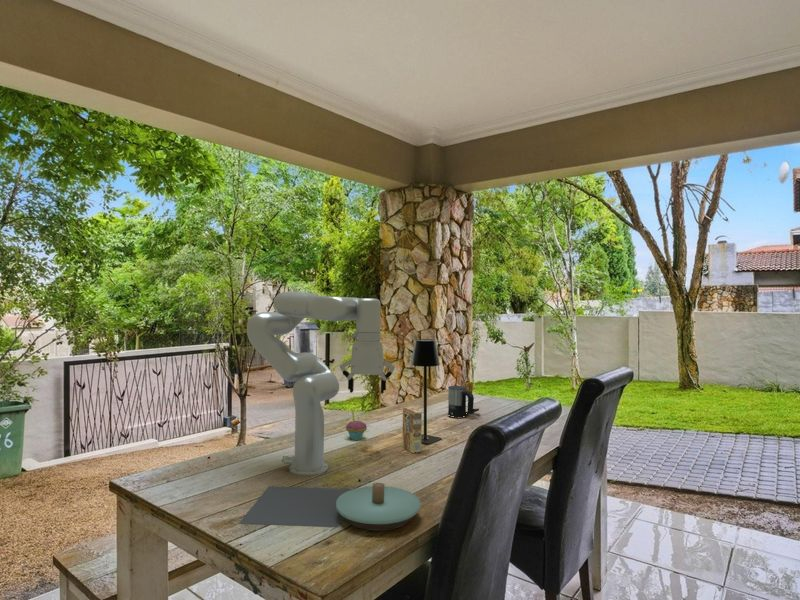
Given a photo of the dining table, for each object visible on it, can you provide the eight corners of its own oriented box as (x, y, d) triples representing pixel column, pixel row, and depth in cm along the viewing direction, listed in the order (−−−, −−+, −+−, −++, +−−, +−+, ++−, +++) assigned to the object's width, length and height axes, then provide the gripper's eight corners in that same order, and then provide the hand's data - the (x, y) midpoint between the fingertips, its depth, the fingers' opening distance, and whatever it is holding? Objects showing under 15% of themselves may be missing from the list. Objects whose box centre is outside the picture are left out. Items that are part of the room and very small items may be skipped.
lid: (329, 522, 119) (329, 500, 120) (342, 488, 141) (343, 469, 141) (420, 525, 119) (420, 503, 119) (419, 490, 141) (419, 471, 141)
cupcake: (342, 440, 200) (343, 410, 200) (349, 434, 209) (350, 406, 209) (363, 442, 198) (363, 412, 198) (369, 436, 207) (369, 408, 207)
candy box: (421, 452, 187) (422, 411, 187) (412, 453, 185) (412, 412, 185) (411, 445, 195) (411, 407, 195) (401, 447, 193) (402, 407, 193)
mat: (238, 525, 124) (238, 523, 124) (268, 487, 149) (268, 486, 149) (337, 528, 123) (337, 527, 123) (351, 490, 148) (351, 488, 148)
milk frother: (444, 417, 244) (445, 387, 244) (454, 411, 258) (455, 382, 258) (472, 420, 238) (473, 390, 238) (481, 414, 253) (481, 385, 253)
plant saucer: (340, 502, 140) (341, 490, 140) (413, 501, 141) (413, 490, 141) (336, 537, 119) (336, 523, 119) (421, 536, 120) (421, 522, 120)
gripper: (338, 337, 151) (337, 393, 151) (395, 339, 150) (393, 395, 150) (342, 336, 158) (341, 389, 158) (396, 337, 158) (395, 390, 158)
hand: (366, 392), depth 154 cm, fingers open, 9 cm apart
